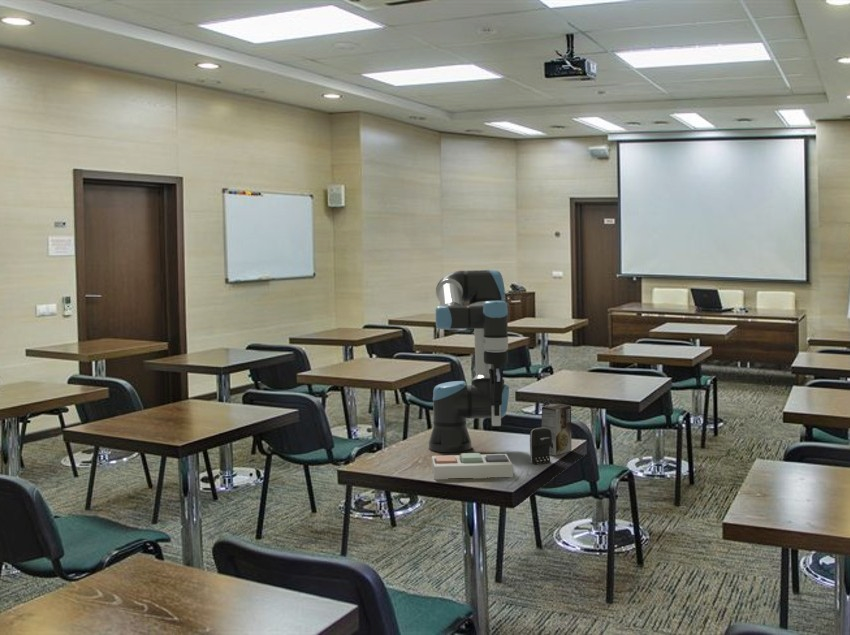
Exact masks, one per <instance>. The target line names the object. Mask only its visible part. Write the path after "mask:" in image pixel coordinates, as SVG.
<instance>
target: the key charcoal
mask: <svg viewBox="0 0 850 635" xmlns="http://www.w3.org/2000/svg"><path fill="white" fill-rule="evenodd" d="M485 455H486V454H485ZM486 462H508V459H507V457H506V456H505V455H486Z"/></svg>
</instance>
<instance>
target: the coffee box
mask: <svg viewBox="0 0 850 635" xmlns="http://www.w3.org/2000/svg"><path fill="white" fill-rule="evenodd" d="M543 427H545V428H547V429H550V430H551V433H552V444H550V446H549V455H551V456H559V455H562V454H566V453H569V452H571V451H572V450H573V449H572V405H569V404H564V403H558V402H557V403H553V404H549V405H548V404H547V405H544V406H541V428H543Z"/></svg>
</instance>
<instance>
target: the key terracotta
mask: <svg viewBox="0 0 850 635" xmlns="http://www.w3.org/2000/svg"><path fill="white" fill-rule="evenodd" d="M435 456H436V464H445V463H456V459H455V456H446V455H435Z"/></svg>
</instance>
